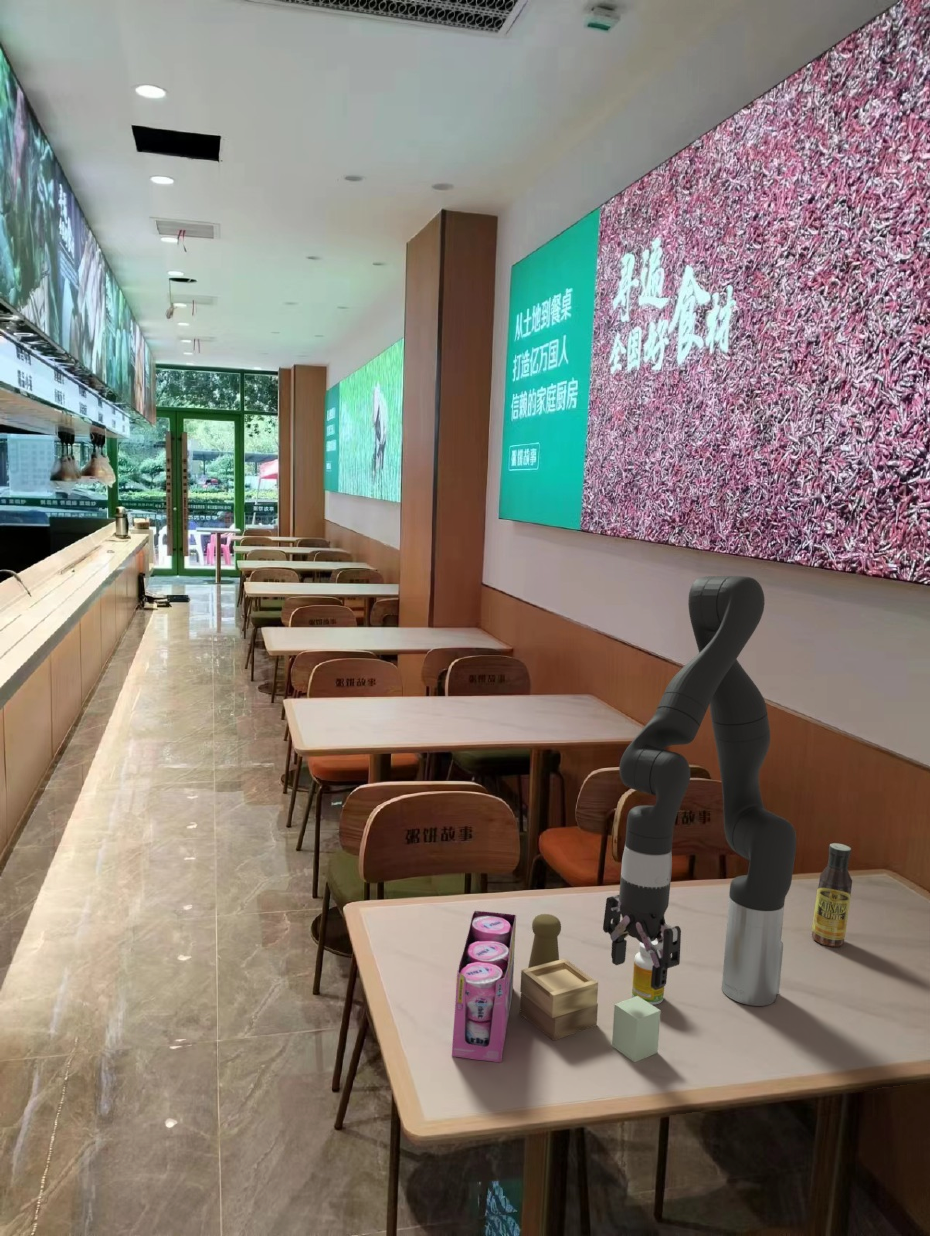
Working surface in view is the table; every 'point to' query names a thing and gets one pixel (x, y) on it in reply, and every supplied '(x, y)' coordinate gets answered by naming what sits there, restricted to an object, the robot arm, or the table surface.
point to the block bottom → (558, 1019)
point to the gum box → (484, 987)
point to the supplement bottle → (645, 977)
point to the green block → (636, 1028)
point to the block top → (559, 987)
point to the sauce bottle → (833, 898)
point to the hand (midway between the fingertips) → (637, 975)
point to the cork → (545, 940)
